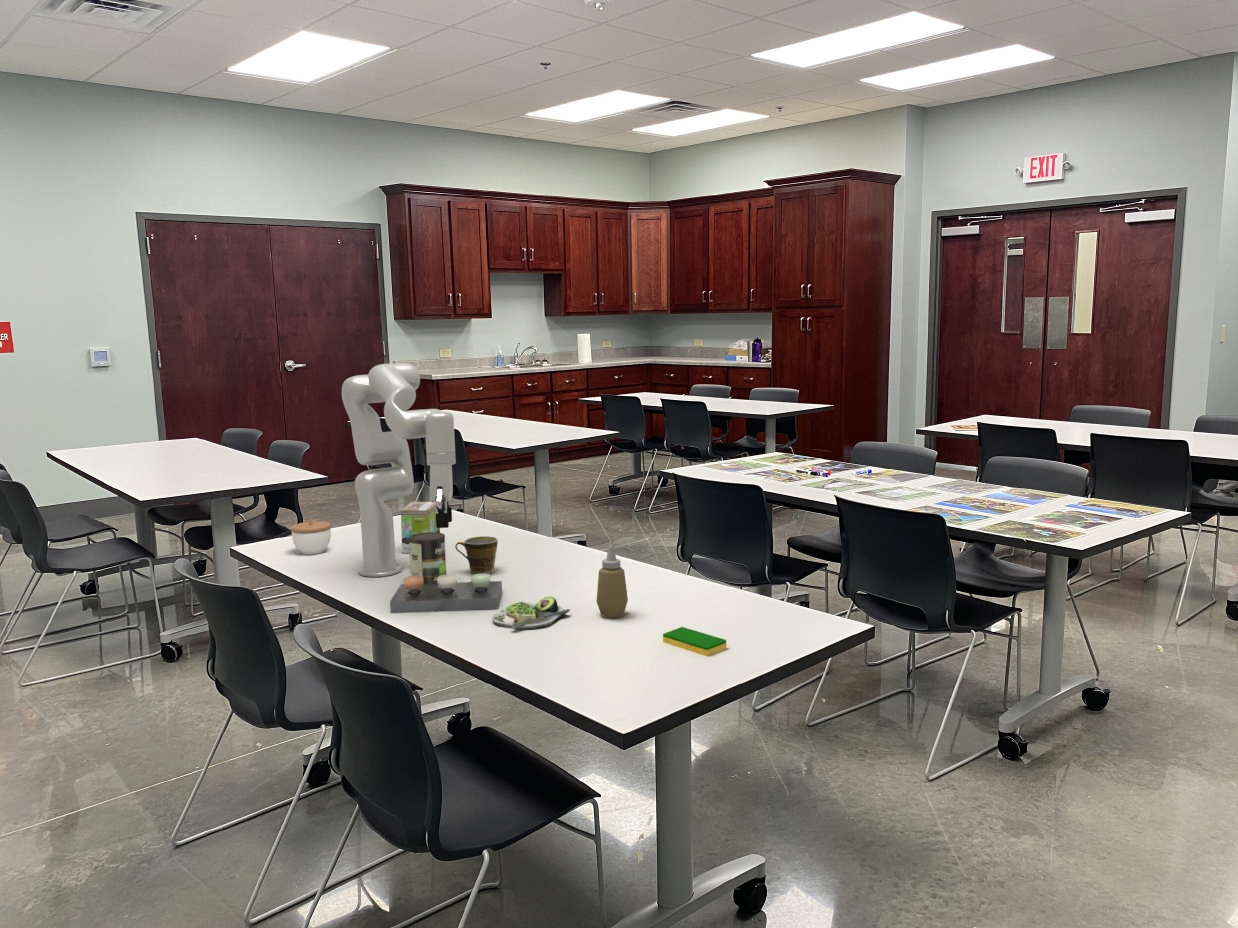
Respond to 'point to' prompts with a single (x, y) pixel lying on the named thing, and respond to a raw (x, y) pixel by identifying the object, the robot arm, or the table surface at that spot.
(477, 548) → the ceramic cup
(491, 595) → the panel
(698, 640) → the dish sponge
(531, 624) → the avocado toast plate
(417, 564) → the coffee can
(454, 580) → the button cream
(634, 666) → the table surface
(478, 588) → the button sage
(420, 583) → the brown egg
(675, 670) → the table surface
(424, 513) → the tea box
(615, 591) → the squeeze bottle
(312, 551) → the lidded bowl
